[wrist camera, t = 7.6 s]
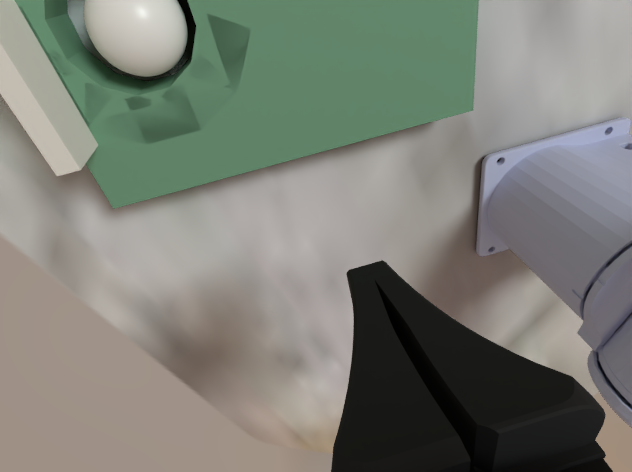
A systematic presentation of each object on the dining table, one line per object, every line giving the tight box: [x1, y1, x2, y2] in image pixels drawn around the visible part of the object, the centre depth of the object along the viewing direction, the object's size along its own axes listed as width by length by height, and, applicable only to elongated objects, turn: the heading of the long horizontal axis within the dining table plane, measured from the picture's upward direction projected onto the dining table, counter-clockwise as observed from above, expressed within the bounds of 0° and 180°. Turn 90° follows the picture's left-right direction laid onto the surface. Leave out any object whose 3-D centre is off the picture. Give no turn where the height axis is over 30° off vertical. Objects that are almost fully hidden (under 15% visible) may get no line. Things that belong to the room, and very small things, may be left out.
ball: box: [84, 0, 187, 77], centre depth 15 cm, size 4×4×4 cm
